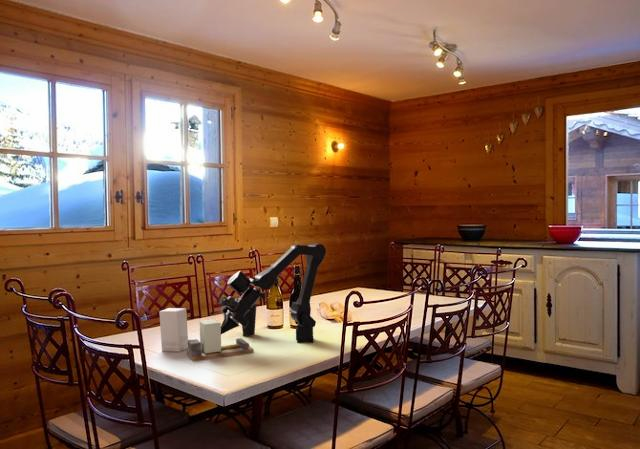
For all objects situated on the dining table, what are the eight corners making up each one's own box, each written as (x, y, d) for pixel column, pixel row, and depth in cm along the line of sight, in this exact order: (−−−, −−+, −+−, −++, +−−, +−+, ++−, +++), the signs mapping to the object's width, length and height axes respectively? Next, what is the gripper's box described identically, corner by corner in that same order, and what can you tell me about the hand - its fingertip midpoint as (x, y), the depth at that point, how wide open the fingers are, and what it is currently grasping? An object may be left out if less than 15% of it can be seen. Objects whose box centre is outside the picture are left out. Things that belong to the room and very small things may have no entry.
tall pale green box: (216, 346, 196) (215, 319, 195) (221, 351, 189) (220, 322, 189) (200, 349, 193) (199, 320, 193) (204, 353, 187) (204, 324, 186)
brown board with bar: (245, 345, 202) (244, 331, 202) (253, 352, 193) (253, 337, 193) (186, 354, 192) (186, 339, 192) (192, 361, 183) (192, 345, 183)
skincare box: (189, 348, 201) (187, 308, 200) (179, 352, 195) (177, 311, 194) (170, 346, 204) (169, 307, 203) (160, 351, 197) (158, 310, 197)
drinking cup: (254, 337, 215) (253, 289, 214) (237, 337, 217) (235, 289, 216) (260, 333, 223) (259, 286, 222) (243, 332, 224) (242, 286, 223)
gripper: (224, 284, 203) (197, 315, 198) (239, 290, 186) (209, 325, 181) (244, 302, 206) (218, 333, 202) (260, 310, 190) (232, 344, 185)
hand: (218, 333), depth 192 cm, fingers closed, pressing on tall pale green box
